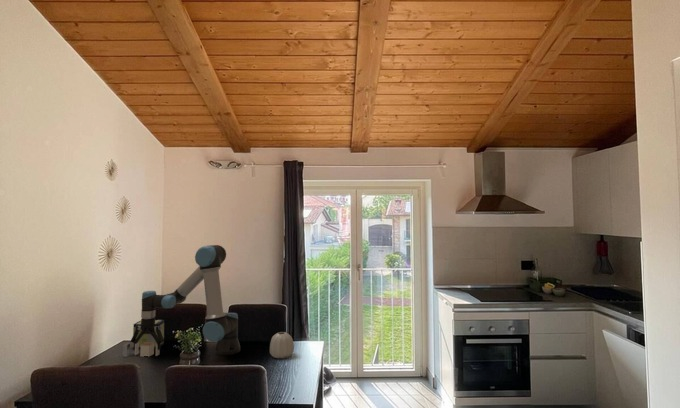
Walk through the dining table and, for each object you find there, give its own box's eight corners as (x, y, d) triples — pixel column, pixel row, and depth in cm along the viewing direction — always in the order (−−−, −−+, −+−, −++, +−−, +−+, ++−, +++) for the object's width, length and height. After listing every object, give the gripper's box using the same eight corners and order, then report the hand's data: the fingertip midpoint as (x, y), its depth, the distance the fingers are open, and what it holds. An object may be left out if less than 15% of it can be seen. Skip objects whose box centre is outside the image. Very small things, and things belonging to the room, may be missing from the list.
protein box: (138, 344, 249) (139, 320, 250) (164, 344, 251) (164, 319, 252) (132, 349, 239) (132, 324, 240) (158, 348, 240) (159, 323, 241)
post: (129, 355, 227) (130, 343, 227) (126, 357, 224) (127, 344, 225) (125, 355, 227) (125, 343, 228) (122, 356, 224) (123, 344, 225)
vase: (281, 351, 233) (281, 328, 234) (298, 355, 225) (298, 332, 226) (264, 357, 222) (264, 333, 223) (281, 362, 214) (282, 337, 215)
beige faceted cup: (153, 353, 230) (154, 342, 230) (148, 356, 225) (149, 345, 225) (145, 353, 230) (145, 342, 231) (140, 356, 225) (140, 344, 226)
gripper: (171, 316, 232) (170, 353, 230) (132, 315, 234) (131, 352, 232) (164, 319, 224) (163, 357, 223) (124, 318, 227) (123, 356, 225)
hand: (147, 354), depth 228 cm, fingers open, 12 cm apart
